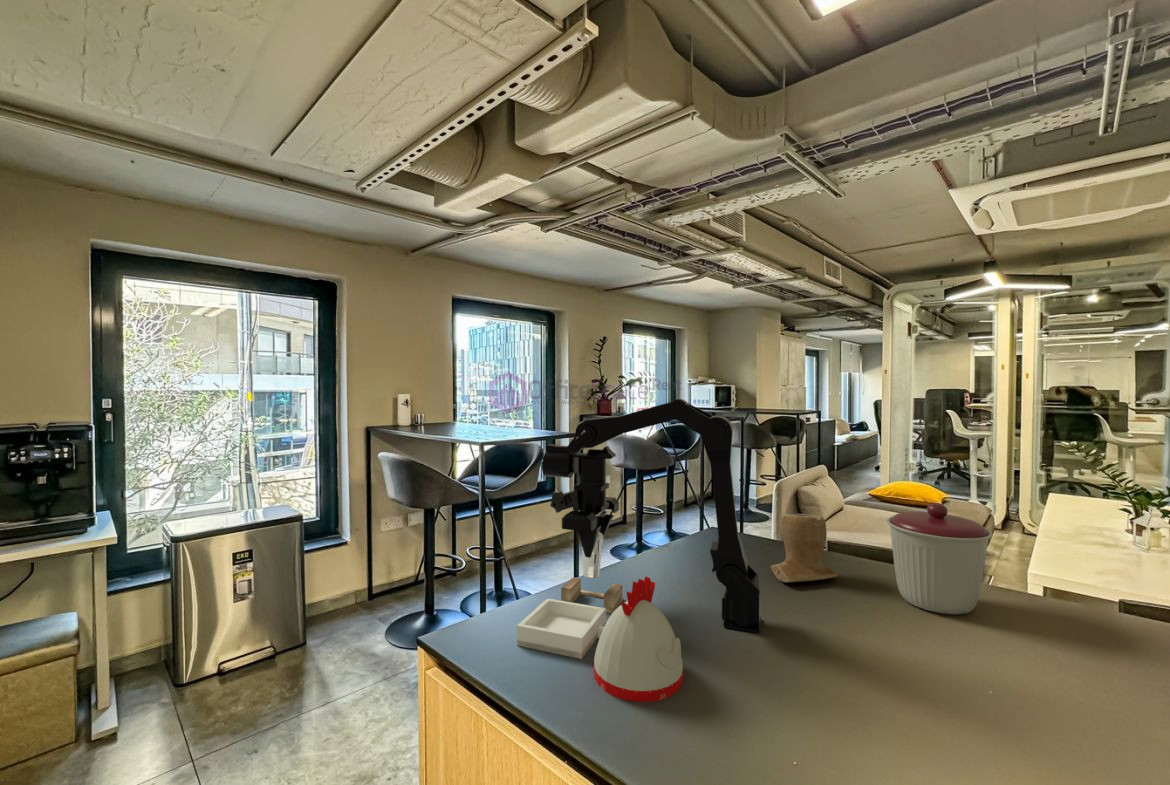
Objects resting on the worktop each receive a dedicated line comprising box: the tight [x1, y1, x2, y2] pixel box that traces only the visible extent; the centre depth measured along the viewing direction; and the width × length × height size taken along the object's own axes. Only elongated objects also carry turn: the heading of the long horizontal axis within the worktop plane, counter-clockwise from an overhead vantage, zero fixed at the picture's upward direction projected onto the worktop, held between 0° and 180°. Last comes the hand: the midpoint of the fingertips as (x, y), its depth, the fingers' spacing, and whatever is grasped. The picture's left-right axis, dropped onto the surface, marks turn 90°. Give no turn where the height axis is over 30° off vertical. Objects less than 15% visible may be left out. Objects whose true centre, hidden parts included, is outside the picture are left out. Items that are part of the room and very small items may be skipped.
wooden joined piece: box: [560, 577, 625, 614], centre depth 107 cm, size 11×7×4 cm, turn 69°
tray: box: [516, 598, 607, 660], centre depth 93 cm, size 12×12×4 cm
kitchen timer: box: [593, 576, 684, 703], centre depth 81 cm, size 14×14×15 cm
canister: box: [886, 502, 993, 615], centre depth 107 cm, size 18×18×21 cm
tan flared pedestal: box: [770, 513, 839, 583], centre depth 122 cm, size 15×12×15 cm
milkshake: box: [581, 532, 604, 579], centre depth 106 cm, size 4×5×10 cm
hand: (592, 553), depth 107 cm, fingers closed on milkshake, 4 cm apart
